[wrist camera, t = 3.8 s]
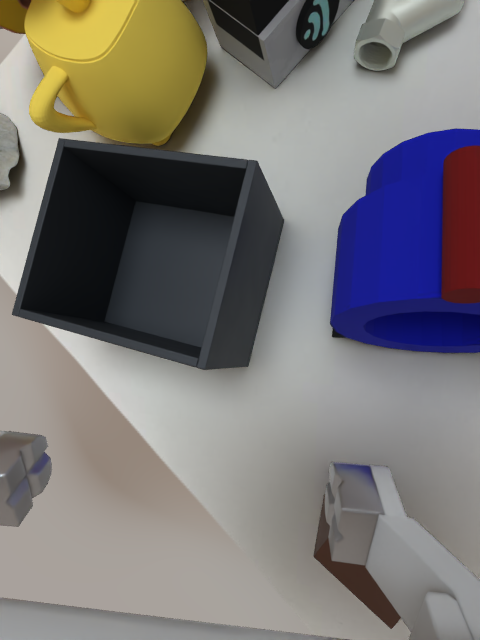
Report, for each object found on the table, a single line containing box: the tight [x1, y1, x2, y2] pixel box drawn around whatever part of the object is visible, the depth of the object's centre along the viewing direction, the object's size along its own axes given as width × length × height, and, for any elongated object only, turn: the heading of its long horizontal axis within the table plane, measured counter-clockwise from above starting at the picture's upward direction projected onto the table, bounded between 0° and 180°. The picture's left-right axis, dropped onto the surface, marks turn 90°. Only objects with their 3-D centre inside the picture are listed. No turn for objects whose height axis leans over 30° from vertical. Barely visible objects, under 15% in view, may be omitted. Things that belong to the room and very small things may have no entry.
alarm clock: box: [330, 129, 480, 353], centre depth 23 cm, size 12×12×15 cm
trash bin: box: [12, 138, 284, 370], centre depth 31 cm, size 15×13×11 cm
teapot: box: [24, 0, 207, 146], centre depth 33 cm, size 13×20×12 cm
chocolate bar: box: [314, 494, 401, 629], centre depth 25 cm, size 3×5×10 cm, turn 52°
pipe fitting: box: [354, 0, 464, 71], centre depth 31 cm, size 8×4×7 cm
